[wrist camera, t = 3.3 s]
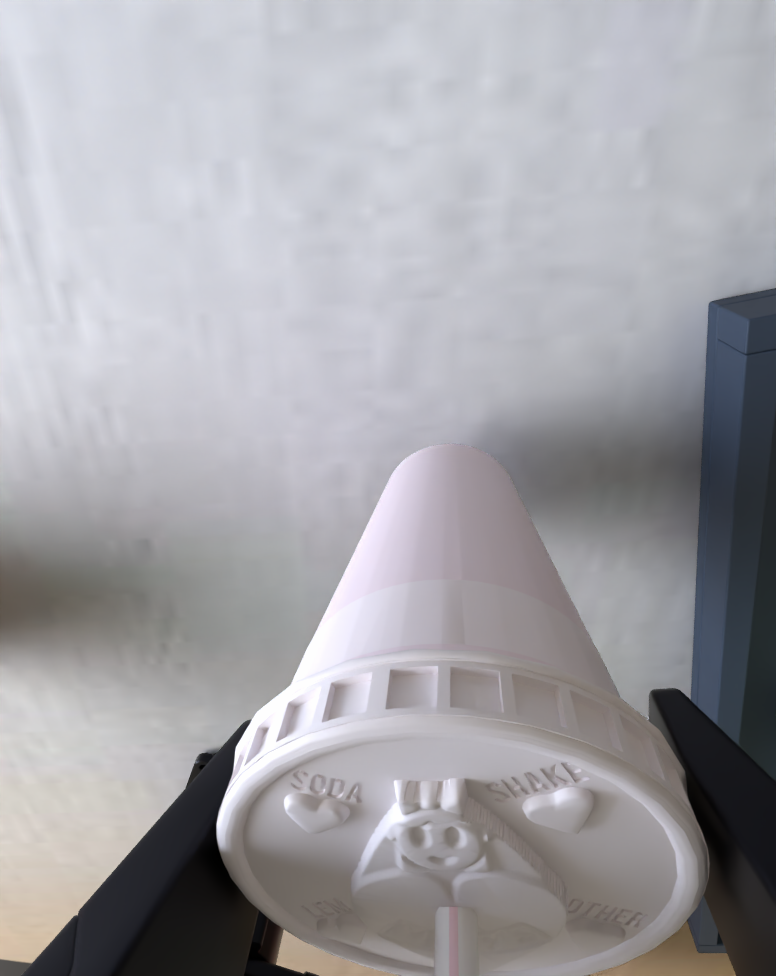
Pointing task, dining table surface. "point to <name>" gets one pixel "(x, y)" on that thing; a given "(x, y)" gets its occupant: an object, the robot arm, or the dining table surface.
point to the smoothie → (460, 759)
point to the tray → (737, 542)
